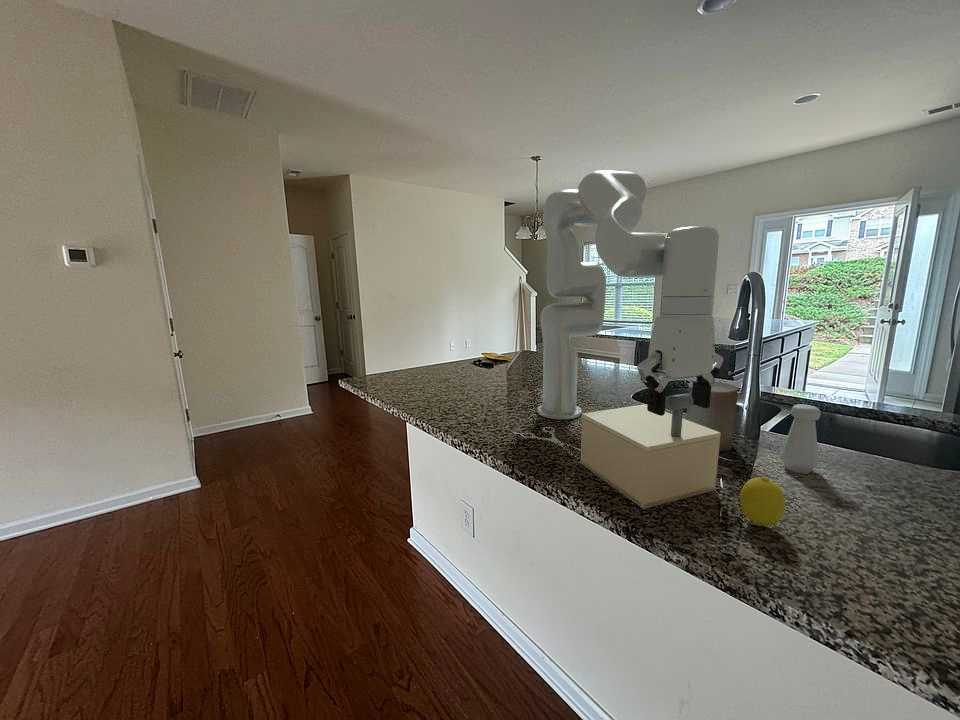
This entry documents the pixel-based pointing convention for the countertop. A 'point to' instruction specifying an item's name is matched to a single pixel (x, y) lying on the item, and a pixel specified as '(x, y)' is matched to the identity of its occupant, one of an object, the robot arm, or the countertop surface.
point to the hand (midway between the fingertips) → (678, 409)
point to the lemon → (762, 501)
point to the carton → (650, 466)
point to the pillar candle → (717, 412)
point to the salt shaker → (802, 440)
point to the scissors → (545, 438)
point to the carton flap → (653, 424)
